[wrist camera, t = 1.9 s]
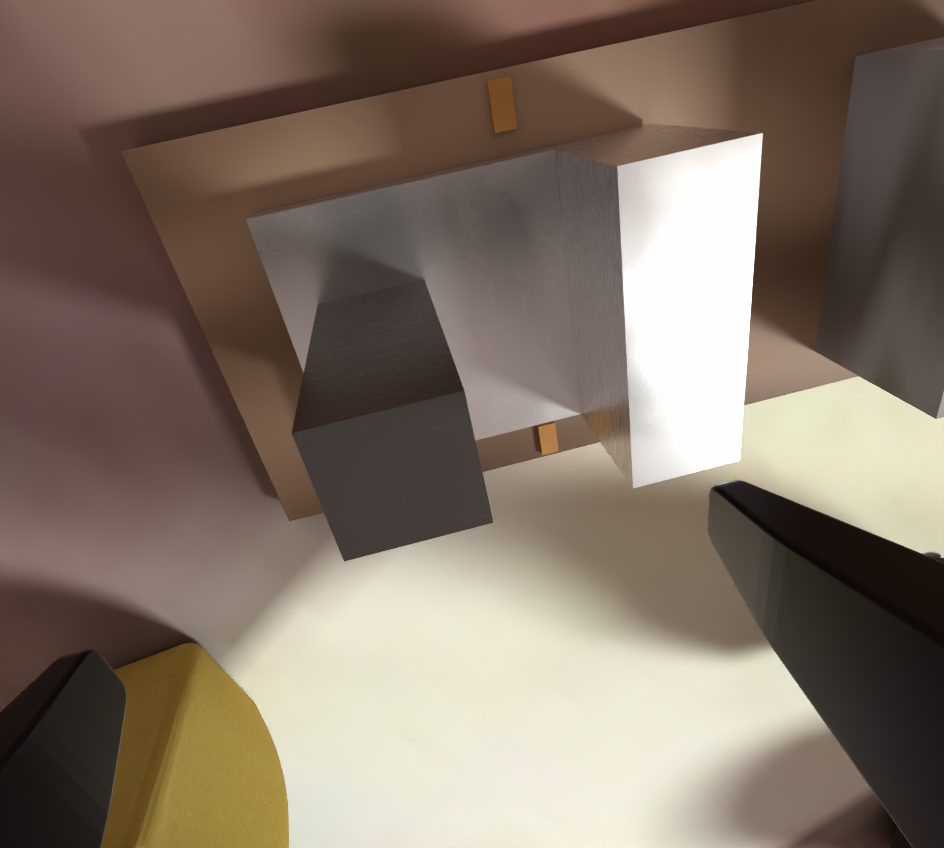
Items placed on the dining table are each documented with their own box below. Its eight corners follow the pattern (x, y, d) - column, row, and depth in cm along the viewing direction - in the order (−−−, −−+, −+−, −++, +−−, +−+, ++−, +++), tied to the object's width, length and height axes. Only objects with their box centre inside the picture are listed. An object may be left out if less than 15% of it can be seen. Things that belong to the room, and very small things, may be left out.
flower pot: (141, 776, 27) (54, 1046, 19) (5, 669, 23) (-180, 965, 15) (314, 711, 27) (296, 957, 19) (211, 590, 22) (133, 848, 15)
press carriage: (656, 381, 20) (810, 527, 13) (342, 460, 19) (332, 655, 12) (652, 123, 16) (871, 142, 9) (250, 213, 15) (164, 306, 8)
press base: (901, 349, 22) (1064, 425, 17) (292, 503, 21) (271, 635, 16) (986, -37, 16) (1280, -101, 11) (134, 148, 15) (14, 174, 10)
